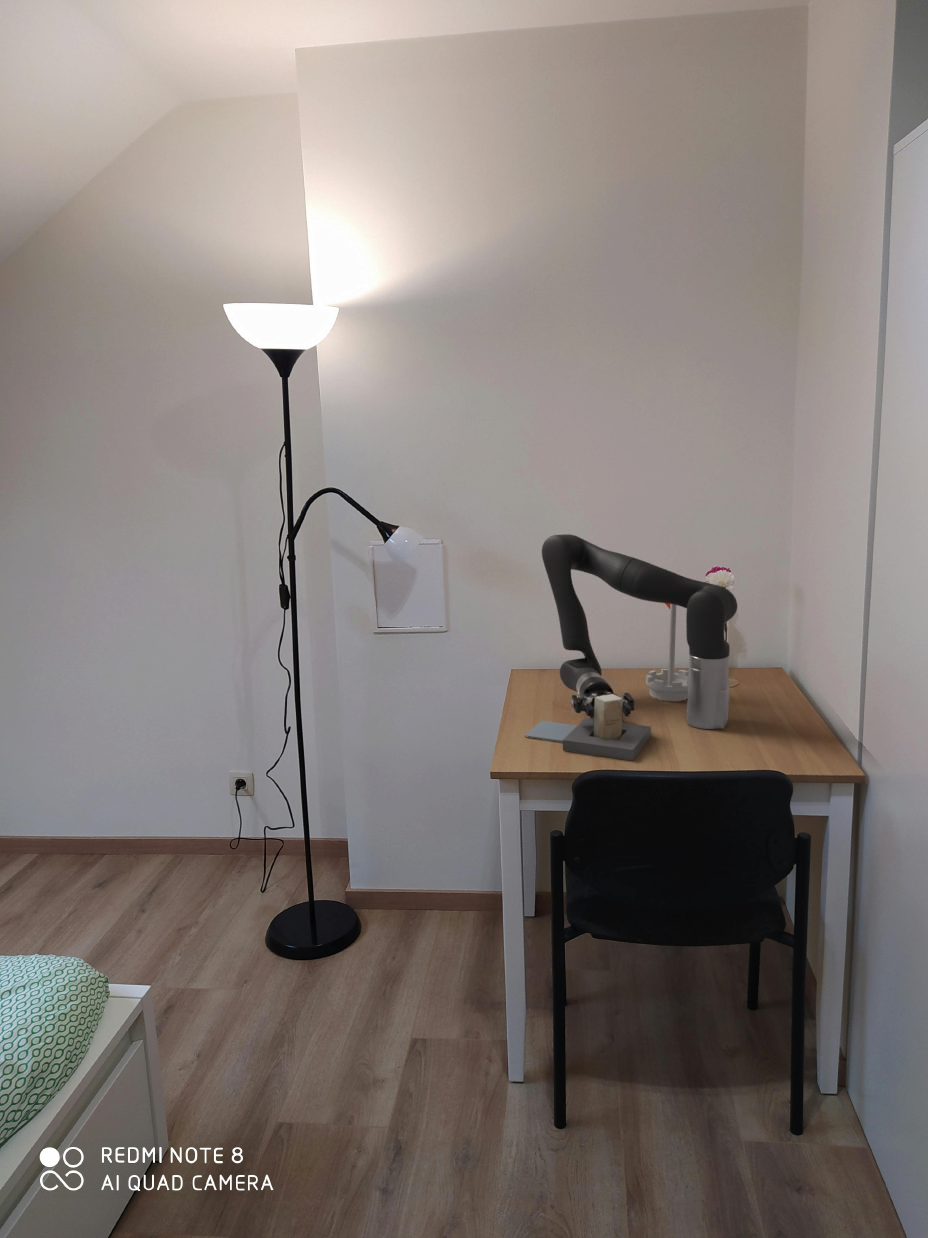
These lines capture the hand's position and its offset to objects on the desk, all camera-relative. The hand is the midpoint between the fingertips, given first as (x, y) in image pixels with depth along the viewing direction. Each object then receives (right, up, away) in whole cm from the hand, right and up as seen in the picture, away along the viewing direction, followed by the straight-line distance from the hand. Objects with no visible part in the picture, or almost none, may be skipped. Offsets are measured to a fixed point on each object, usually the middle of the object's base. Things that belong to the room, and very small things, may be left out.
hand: (610, 713), depth 205 cm
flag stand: (+22, +1, +38) cm, 44 cm away
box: (0, -8, +4) cm, 8 cm away
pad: (-12, -6, +12) cm, 17 cm away
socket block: (0, -7, +4) cm, 8 cm away
